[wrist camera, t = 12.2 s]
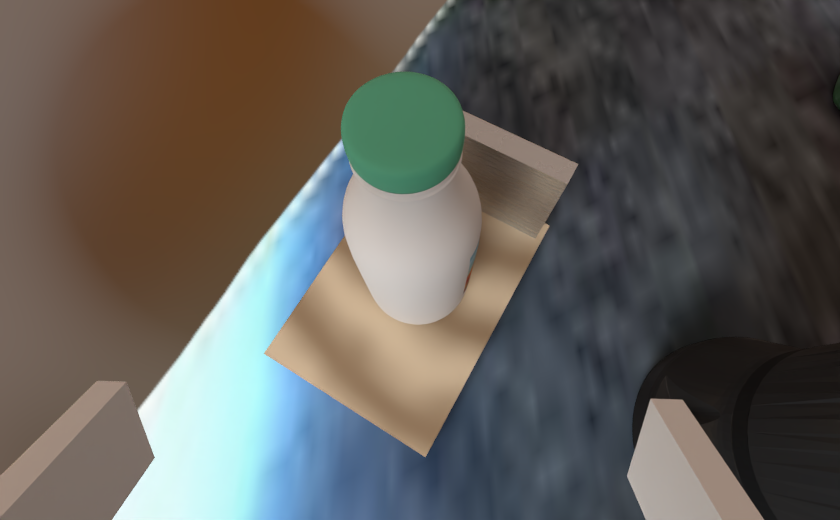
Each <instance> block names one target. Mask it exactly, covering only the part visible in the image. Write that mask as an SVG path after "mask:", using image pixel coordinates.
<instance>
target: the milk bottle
mask: <svg viewBox="0 0 840 520" xmlns="http://www.w3.org/2000/svg"><path fill="white" fill-rule="evenodd" d="M341 136H342V141H343V145H344V149H345V152H346V155H347V157H348V159H349V163H350V166H351V169H352V172H353V176H352V177H351V179H350V181H349V184H348V186H347V189H346V193H345V196H344V201H343V213H342V217H343V227H344V233H345V237H346V241H347V243H348V246H349V249H350V251H351V254H352V257H353V259H354V261H355V263H356V265H357V267H358V269H359V271H360V273H361V275H362V277H363V279H364V281H365V283H366V285H367V287H368V289H369V291H370V293H371V295H372V297H373V298H374V300H375V301H376V303H377V304H378V306H379V307H380V308H381V309H382V310H383V311H384V312H385V313H386V314H387V315H389V316H390V317H392V318H394V319H396V320H398V321H400V322H403V323H407V324H414V325H422V324H429V323H433V322H436V321H438V320H440V319H442V318H444V317H446V316H447V315H449V314H450V313H451V312H452V311H453V310H454V309H455V308H456V307H457V306H458V305H459V303H460V302H461V300H462V298H463V296H464V294H465V292H466V289H467V286H468V283H469V279H470V275H471V272H472V268H473V265H474V261H475V257H476V253H477V249H478V245H479V239H480V233H481V226H482V213H481V203H480V199H479V195H478V191H477V188H476V186H475V184H474V182H473V180H472V178H471V176H470V174H469V173H468V171H467V170H466V168H465V167H464V166H463V165H462V163H461V161H462V155H463V146H464V140H465V118H464V114H463V111H462V108H461V105H460V103H459V101H458V99H457V98H456V96H455V95H454V93H453V92H452V91H451V90H450V89H449V88H448V87H447V86H446V85H444V84H443V83H441V82H440V81H438V80H436V79H435V78H432V77H430V76H427V75H424V74H420V73H415V72H394V73H389V74H385V75H382V76H379V77H377V78H374V79H372V80H370V81H369V82H367V83H365V84H364V85H363V86H361V87H360V88H359V89H358V90H357V91H356V92H355V93H354V94H353V95H352V97H351V98H350V100H349V101H348V103H347V105H346V107H345V109H344V112H343V116H342V122H341Z"/></svg>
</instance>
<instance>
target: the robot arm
mask: <svg viewBox="0 0 840 520" xmlns="http://www.w3.org/2000/svg"><path fill="white" fill-rule="evenodd" d="M632 432H633V444H634V455H633V458H632V461H631V465H630V468H629V471H628V474H627V477H628V479H629V482H630V484H631V486H632V489H633V491H634V493H635V496H636V498H637V500H638V502H639V505H640V507H641V509H642V512H643V514H644V516H645V519H646V520H840V343H836V344H830V345H823V346H817V347H812V348H807V349H800V348H796V347H791V346H786V345H782V344H777V343H771V342H768V341H764V340H759V339H754V338H746V337H723V338H715V339H710V340H706V341H702V342H698V343H694V344H691V345H688V346H685V347H682V348H680V349H678V350H676V351H674V352H673V353H671V354H669V355H668V356H666V357H665V358H664V359H663V360H661V361H660V362H659V363H658V364H657V365H656V366H655V367H654V368H653V370H652V371H651V372H650V374H649V375H648V376H647V378H646V379H645V381H644V383H643V385H642V387H641V389H640V391H639V394H638V397H637V400H636V404H635V408H634V414H633V425H632ZM153 459H154V455H153V452H152V449H151V447H150V444H149V441H148V439H147V436H146V433H145V431H144V428H143V425H142V423H141V420H140V417H139V414H138V412H137V409H136V406H135V404H134V401H133V398H132V396H131V393H130V390H129V388H128V385H127V382H117V381H97V382H96V383H94V384H93V385H92V386H91V388H89V389H88V391H86V392H85V393H84V395H82V396H81V397H80V398H79V399H78V400H77V401H76V402H75V403H74V404H73V405H72V406H71V407H70V408H69V409H68V410H67V411H66V412H65V413H64V414H63V415H62V416H61V417H60V418H59V419H58V420H57V421H56V422H55V423H54V424H53V425H52V426H51V427H50V428H49V429H48V430H47V431H46V432H45V433H44V434H43V435H42V436H40V437H39V438H38V440H36V442H34V443H33V444H32V445H31V446H30V447H29V449H27V450H26V451H25V452H24V453H23V454H22V455H21V456H20V457H19V458H18V459H17V460H16V461H15V462H14V463H13V464H12V465H11V466H10V467H9V468H8V469H7V470H6V471H5V472H4V473H3V474H2V475H1V476H0V520H112V519H113V517H114V516H115V514H116V513H117V511H118V510H119V508H120V507H121V506H122V504H123V503H124V501H125V500H126V498H127V497H128V495H129V494H130V493H131V491H132V490H133V488H134V487H135V485H136V484H137V482H138V481H139V480H140V478H141V477H142V475H143V474H144V472H145V471H146V469H147V468H148V466H149V465H150V464H151V462H152V461H153Z"/></svg>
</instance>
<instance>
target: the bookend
mask: <svg viewBox="0 0 840 520" xmlns="http://www.w3.org/2000/svg"><path fill="white" fill-rule="evenodd" d="M462 111H463V110H462ZM463 114H464V118H465V140H464V146H463V155H462V161H461V163H462V165H463V166H464V167H465V168H466V170H467V171H468V173H469V174H470V176H471V178H472V180H473V182H474V184H475V186H476V188H477V191H478V195H479V199H480V203H481V211H482V212H484V213H486V214H488V215H490V216H492V217H494V218H496V219H498V220H500V221H502V222H504V223H505V224H507V225H509V226H511V227H513V228H515V229H517V230H519V231H521V232H523V233H525V234H527V235H529V236H531V237H533V238H536V237H537V235H538V233H539V232H540V230H541V228H542V227H543V225H544V223H545V221H546V220H547V218H548V216H549V215H550V213H551V211H552V210H553V208H554V206H555V204H556V203H557V201H558V199H559V198H560V196H561V194H562V193H563V191H564V189H565V188H566V186H567V184H568V182H569V180H570V179H571V177H572V175H573V173H574V171H575V169H576V167H577V166H578V164H577V163H575V162H572V161H570V160H568V159H566V158H564V157H562V156H560V155H557V154H555V153H553V152H551V151H549V150H547V149H544V148H542V147H540V146H538V145H536V144H534V143H531V142H529V141H527V140H525V139H523V138H521V137H519V136H516V135H514V134H512V133H510V132H508V131H506V130H503V129H501V128H499V127H497V126H495V125H493V124H491V123H488V122H486V121H484V120H482V119H480V118H478V117H475V116H473V115H471V114H469V113H467V112H465V111H463Z"/></svg>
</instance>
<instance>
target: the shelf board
mask: <svg viewBox="0 0 840 520" xmlns="http://www.w3.org/2000/svg"><path fill="white" fill-rule="evenodd" d="M481 213H482V226H481V233H480V239H479V245H478V249H477V253H476V257H475V261H474V265H473V268H472V272H471V275H470V279H469V283H468V286H467V289H466V292H465V294H464V296H463V298H462V300H461V302H460V303H459V305H458V306H457V307H456V308H455V309H454V310H453V311H452V312H451V313H450V314H449V315H447V316H446V317H444V318H442V319H440V320H438V321H436V322H433V323H429V324H422V325H414V324H407V323H403V322H400V321H398V320H396V319H394V318H392V317H390V316H389V315H387V314H386V313H385V312H384V311H383V310H382V309H381V308H380V307H379V306H378V304H377V303H376V301H375V300H374V298H373V297H372V295H371V293H370V291H369V289H368V287H367V285H366V283H365V281H364V279H363V277H362V275H361V273H360V271H359V269H358V267H357V265H356V263H355V261H354V259H353V257H352V254H351V251H350V249H349V246H348V243H347V241H346V237H345V236H344V238H343V239H342V241H341V242H340V243H339V245H338V246H337V248H336V249H335V251H334V252H333V254H332V255H331V257H330V258H329V260H328V261H327V262H326V264H325V265H324V267H323V268H322V270H321V271H320V273H319V274H318V276H317V277H316V278H315V280H314V281H313V283H312V284H311V286H310V287H309V289H308V290H307V292H306V293H305V295H304V296H303V297H302V299H301V300H300V302H299V303H298V305H297V306H296V308H295V309H294V311H293V312H292V314H291V315H290V316H289V318H288V319H287V321H286V322H285V324H284V325H283V327H282V328H281V330H280V331H279V332H278V334H277V335H276V337H275V338H274V340H273V341H272V343H271V344H270V346H269V347H268V349H267V350H266V351H265V353H264V354H266V355H267V356H269V357H270V358H272V359H273V360H275V361H277V362H278V363H280V364H281V365H283V366H284V367H286V368H287V369H289V370H291V371H292V372H294V373H295V374H297V375H298V376H300V377H301V378H303V379H305V380H306V381H308V382H309V383H311V384H312V385H314V386H315V387H317V388H319V389H320V390H322V391H323V392H325V393H326V394H328V395H330V396H331V397H333V398H334V399H336V400H337V401H339V402H340V403H342V404H344V405H345V406H347V407H348V408H350V409H351V410H353V411H354V412H356V413H358V414H359V415H361V416H362V417H364V418H365V419H367V420H368V421H370V422H372V423H373V424H375V425H376V426H378V427H379V428H381V429H382V430H384V431H386V432H387V433H389V434H390V435H392V436H393V437H395V438H396V439H398V440H400V441H401V442H403V443H404V444H406V445H407V446H409V447H411V448H412V449H414V450H415V451H417V452H418V453H420V454H421V455H423V456H425V457H426V455H427V453H428V451H429V450H430V448H431V446H432V444H433V442H434V440H435V438H436V437H437V435H438V433H439V431H440V429H441V427H442V425H443V423H444V422H445V420H446V418H447V416H448V414H449V412H450V410H451V409H452V407H453V405H454V403H455V401H456V399H457V397H458V395H459V394H460V392H461V390H462V388H463V386H464V384H465V382H466V381H467V379H468V377H469V375H470V373H471V371H472V369H473V368H474V366H475V364H476V362H477V360H478V358H479V356H480V354H481V353H482V351H483V349H484V347H485V345H486V343H487V341H488V340H489V338H490V336H491V334H492V332H493V330H494V328H495V326H496V325H497V323H498V321H499V319H500V317H501V315H502V313H503V312H504V310H505V308H506V306H507V304H508V302H509V300H510V298H511V297H512V295H513V293H514V291H515V289H516V287H517V285H518V284H519V282H520V280H521V278H522V276H523V274H524V272H525V271H526V269H527V267H528V265H529V263H530V261H531V259H532V257H533V256H534V254H535V252H536V250H537V248H538V246H539V244H540V243H541V241H542V239H543V237H544V235H545V233H546V231H547V229H548V228H549V225H547V224H545V223H544V225H543V227H542V228H541V230H540V232H539V233H538V235H537V237H536V238H533V237H531V236H529V235H527V234H525V233H523V232H521V231H519V230H517V229H515V228H513V227H511V226H509V225H507V224H505V223H504V222H502V221H500V220H498V219H496V218H494V217H492V216H490V215H488V214H486V213H484V212H482V211H481Z"/></svg>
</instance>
